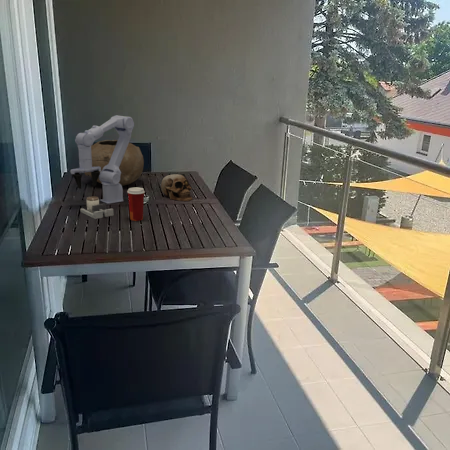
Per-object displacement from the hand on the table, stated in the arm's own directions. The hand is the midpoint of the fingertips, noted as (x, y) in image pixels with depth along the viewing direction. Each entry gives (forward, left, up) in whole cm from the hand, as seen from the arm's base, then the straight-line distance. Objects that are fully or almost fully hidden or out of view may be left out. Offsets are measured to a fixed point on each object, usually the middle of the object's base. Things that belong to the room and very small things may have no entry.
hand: (86, 187), depth 216 cm
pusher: (+2, +18, -10) cm, 20 cm away
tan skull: (-47, +10, -10) cm, 49 cm away
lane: (+2, +12, -10) cm, 16 cm away
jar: (+2, +10, -10) cm, 14 cm away
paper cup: (-8, +30, -10) cm, 33 cm away
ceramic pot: (-36, -35, -10) cm, 51 cm away
